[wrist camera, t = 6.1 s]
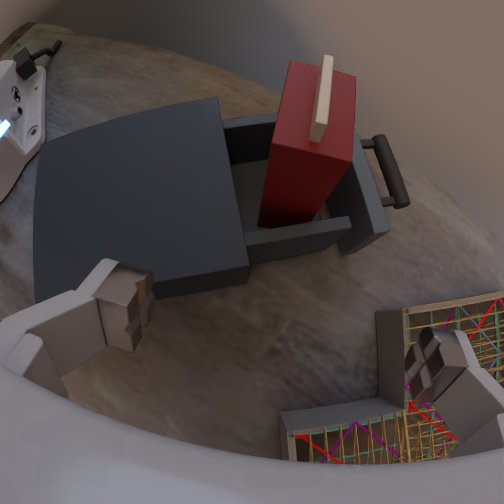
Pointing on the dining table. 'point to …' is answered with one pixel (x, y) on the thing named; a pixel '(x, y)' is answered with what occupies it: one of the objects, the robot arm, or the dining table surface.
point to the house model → (391, 389)
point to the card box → (308, 143)
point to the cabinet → (140, 203)
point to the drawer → (340, 200)
